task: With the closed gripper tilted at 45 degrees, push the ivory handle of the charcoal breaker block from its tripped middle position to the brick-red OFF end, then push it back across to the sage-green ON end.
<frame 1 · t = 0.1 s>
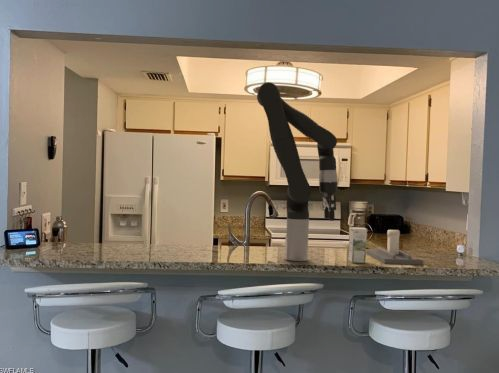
hand: (329, 219, 171), 17 cm above the worktop, tool pointing down, fingers open, 8 cm apart
syrup box: (356, 262, 170), on the worktop
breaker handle: (393, 241, 180), point 8 cm above the worktop, slide at 0.0 cm
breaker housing: (392, 258, 180), on the worktop
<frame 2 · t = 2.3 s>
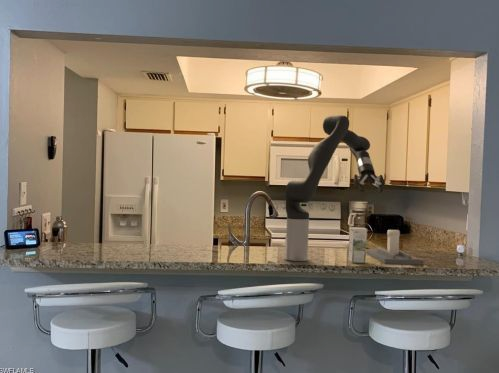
hand: (371, 191, 194), 29 cm above the worktop, tool tilted 45°, fingers open, 8 cm apart
nothing on the worktop moved.
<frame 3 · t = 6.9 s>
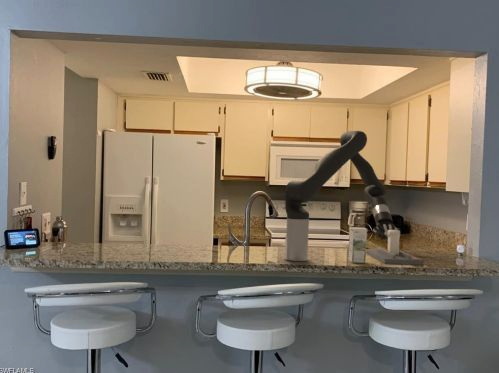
hand: (391, 245, 182), 6 cm above the worktop, tool tilted 45°, fingers closed
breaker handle: (393, 241, 180), point 8 cm above the worktop, slide at -0.4 cm, touching gripper
everything else where it was.
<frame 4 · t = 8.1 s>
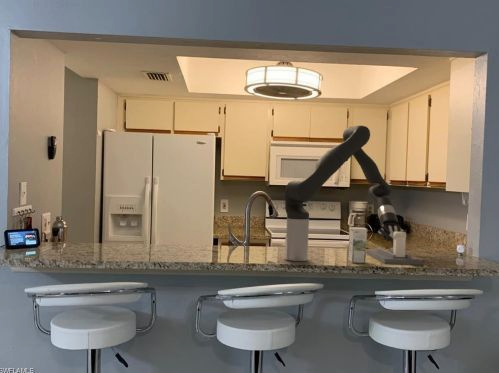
hand: (396, 247, 175), 6 cm above the worktop, tool tilted 45°, fingers closed
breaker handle: (399, 244, 173), point 8 cm above the worktop, slide at -6.9 cm, touching gripper
everything else where it was.
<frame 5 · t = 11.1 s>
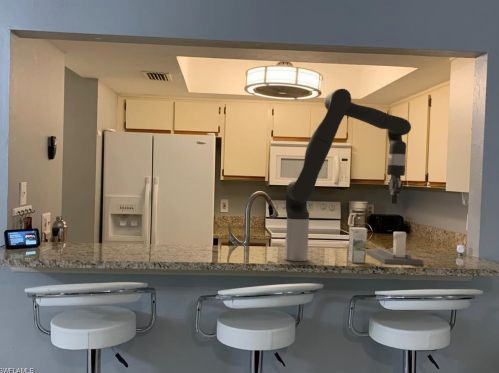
hand: (393, 203, 181), 25 cm above the worktop, tool pointing down, fingers closed
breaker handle: (399, 244, 173), point 8 cm above the worktop, slide at -7.0 cm
everything else where it was.
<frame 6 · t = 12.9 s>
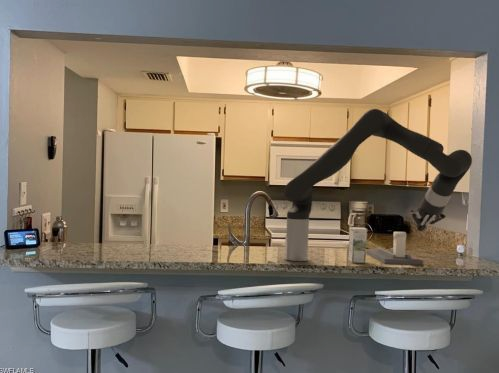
hand: (419, 229, 155), 16 cm above the worktop, tool tilted 45°, fingers closed
nothing on the worktop moved.
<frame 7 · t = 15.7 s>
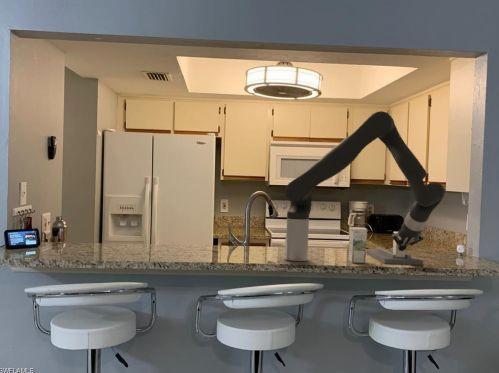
hand: (400, 249, 171), 6 cm above the worktop, tool tilted 45°, fingers closed
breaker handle: (399, 244, 173), point 8 cm above the worktop, slide at -6.7 cm, touching gripper
everything else where it was.
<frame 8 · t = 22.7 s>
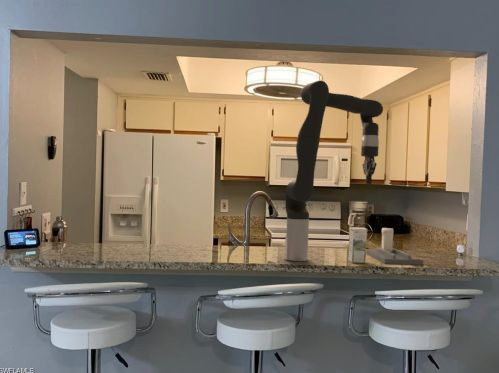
hand: (368, 183, 186), 33 cm above the worktop, tool pointing down, fingers closed
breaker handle: (387, 239, 187), point 8 cm above the worktop, slide at 7.1 cm
everything else where it was.
at the end: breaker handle slide at 7.1 cm; syrup box moved 0.2 cm from its start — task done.
